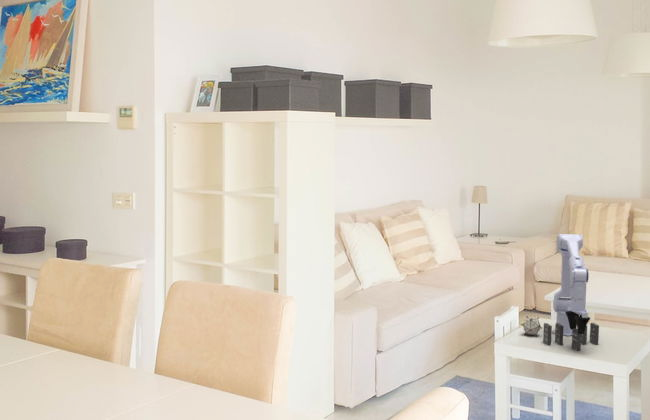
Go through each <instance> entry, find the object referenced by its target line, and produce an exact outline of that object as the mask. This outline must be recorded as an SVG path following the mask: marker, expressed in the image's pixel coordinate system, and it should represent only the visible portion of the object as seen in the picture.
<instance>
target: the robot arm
mask: <svg viewBox="0 0 650 420" xmlns="http://www.w3.org/2000/svg"><path fill="white" fill-rule="evenodd" d="M583 237H584V236H583V235H582V234H580V233H579V234H573V233H572V234H571V233H569V234H568V233H559V234H558V235H557V238H556V250H557V251H556V252H557V253H558V252H559V253H560V255H561V271H560V272H561V277H560V278H561V280H560V290H559V291H557V292H556V293H554V295H553V301H552V307H553V311H554V312H555V313H556V321H555V324H556V323H560V324H561V325H563V326H564V329H563V336H566V337H569V336H572V331H573V328H576V329H577V331H578V334H584V331H585V328H586V325H587V326H588V323H589V321H590V320H591V317H590V316H589V312H588V311H587V309H586V302H587V301H586V300H587V284H588V283H589V278H590V277H589V269H588V267H587V266H585V263H584V262H585V261H584V259H583V257H582V256H581V255H580V250H581V249H582V248H583V245H584V238H583ZM551 334H555V330H552V332H551Z"/></svg>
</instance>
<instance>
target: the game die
mask: <svg viewBox="0 0 650 420" xmlns="http://www.w3.org/2000/svg"><path fill="white" fill-rule="evenodd" d="M539 319H540V317H537V318H535V317H529V316H527V315H526V319H525V320H524V322H523V323H520V325H521V326H522V327H523V330H524V336H526V335H534V336H535V337H538V335H537V334H538V333H539V332H540V330H542V329H543V327H542V326H541V323H540V321H539Z"/></svg>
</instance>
